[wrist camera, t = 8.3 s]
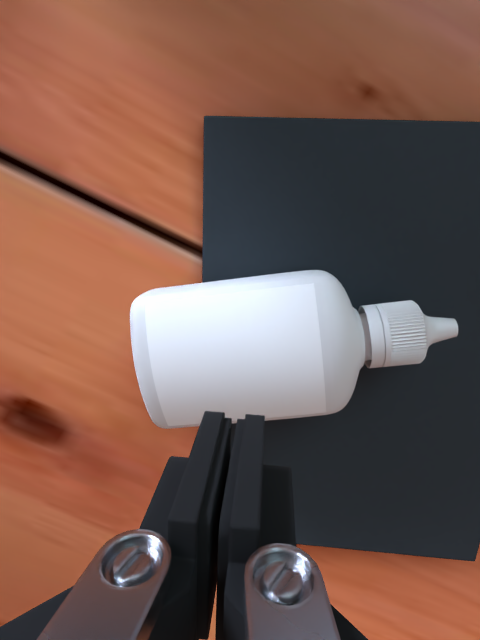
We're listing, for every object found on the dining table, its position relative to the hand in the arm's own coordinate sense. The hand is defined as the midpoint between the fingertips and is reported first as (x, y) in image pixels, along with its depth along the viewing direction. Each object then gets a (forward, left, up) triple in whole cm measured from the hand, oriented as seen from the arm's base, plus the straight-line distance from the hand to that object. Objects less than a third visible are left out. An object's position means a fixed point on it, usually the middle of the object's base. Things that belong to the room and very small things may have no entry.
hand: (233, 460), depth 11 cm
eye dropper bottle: (-1, -4, -5) cm, 7 cm away
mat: (0, +5, -8) cm, 9 cm away
